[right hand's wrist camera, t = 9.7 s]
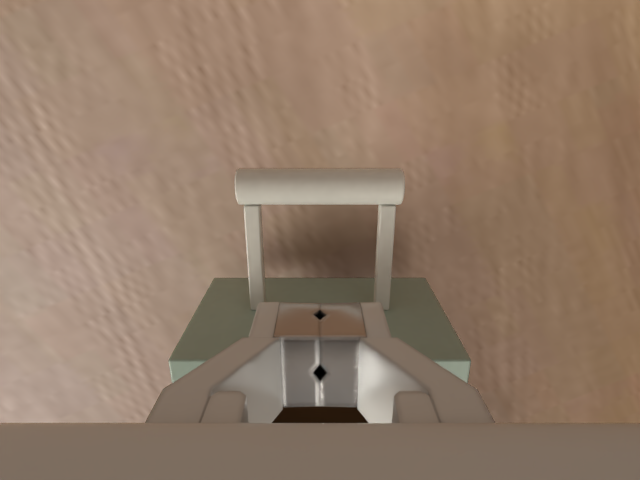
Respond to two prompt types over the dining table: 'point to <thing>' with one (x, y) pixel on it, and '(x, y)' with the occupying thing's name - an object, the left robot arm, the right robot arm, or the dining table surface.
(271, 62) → the dining table surface
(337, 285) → the drawer
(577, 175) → the dining table surface
